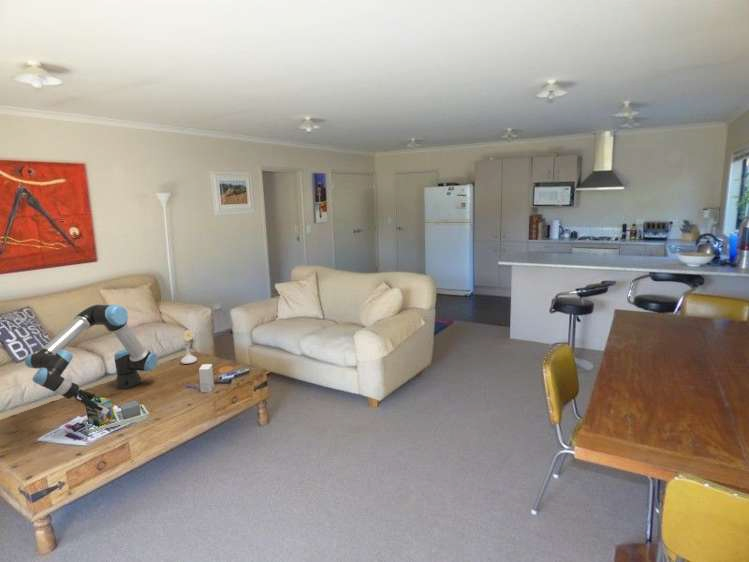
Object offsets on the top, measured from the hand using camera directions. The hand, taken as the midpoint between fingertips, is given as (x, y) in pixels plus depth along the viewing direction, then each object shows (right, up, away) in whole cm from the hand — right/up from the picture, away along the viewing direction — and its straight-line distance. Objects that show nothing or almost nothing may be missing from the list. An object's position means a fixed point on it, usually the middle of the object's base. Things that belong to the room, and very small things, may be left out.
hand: (105, 408), depth 244 cm
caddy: (+4, -9, +4) cm, 11 cm away
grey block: (+9, -7, +8) cm, 14 cm away
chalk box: (-2, -7, 0) cm, 8 cm away
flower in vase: (+8, +8, +92) cm, 93 cm away
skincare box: (+39, -1, +43) cm, 58 cm away
